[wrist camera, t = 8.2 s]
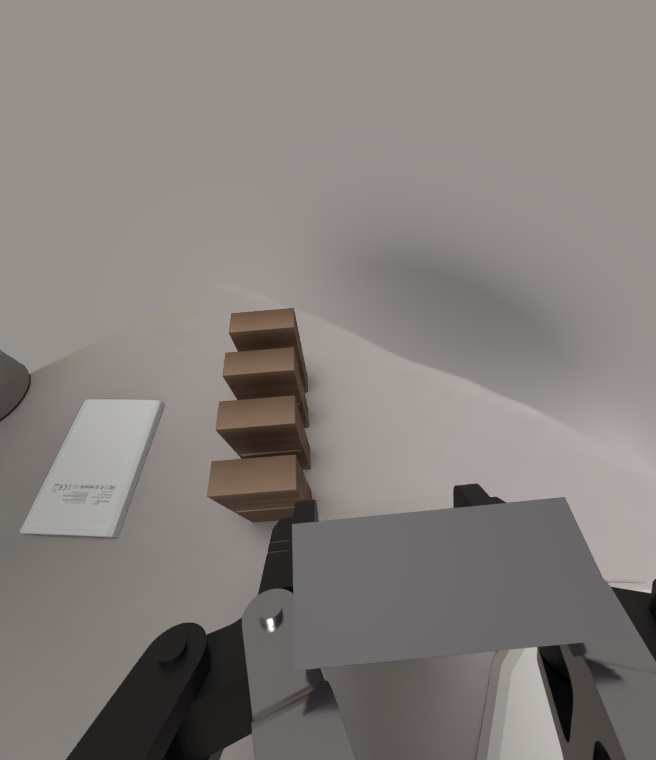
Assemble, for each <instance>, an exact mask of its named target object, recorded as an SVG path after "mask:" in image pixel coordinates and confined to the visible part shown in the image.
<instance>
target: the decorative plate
mask: <svg viewBox="0 0 656 760" xmlns="http://www.w3.org/2000/svg"><path fill="white" fill-rule="evenodd" d="M608 584H609V585H610V586H611V587H616V588H622V589H628V590H634V591H640V592H647V593H651V590H652V584H642V583H608ZM476 760H563V755H562V751H561V747H560V743H559V739H558V736H557V732H556V729H555V725H554V721H553V718H552V714H551V710H550V707H549V703H548V699H547V696H546V692H545V688H544V685H543V681H542V677H541V674H540V670H539V667H538V663H537V647H532V648H521V649H511V650H501V651H498V652H497V654H496V655H495V657H494V659H493V662H492V668H491V674H490V680H489V686H488V692H487V698H486V704H485V710H484V716H483V722H482V728H481V734H480V740H479V746H478V752H477V758H476Z"/></svg>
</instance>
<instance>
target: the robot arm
mask: <svg viewBox="0 0 656 760" xmlns="http://www.w3.org/2000/svg"><path fill="white" fill-rule="evenodd" d="M28 384H29V373H28V370H27V369H26V367H25V366H24V365H22V364H21V363H19V362H17V361H16V360H14V359H13V358H11V357H10V356H8V355H7V354H5V353H4V352H2V351H1V350H0V419H1V418H3V417H4V416H5V415H6V414H8V413H9V412H10V411H11V410H12V409H13V408H14V407H15V406H16V405H17V404H18V402H19V401H20V400H21V399H22V397H23V395H24V394H25V392H26V390H27V387H28ZM453 497H454V508H460V507H470V506H480V505H490V504H500V503H506V502H504V501H503V500H501V499H499V498H498V497H489V495H488V494H487V493H486V492H485V491H484V490H483V489H482V488H481V487H480V486H479V485H478V484H467V485H457V486H455V487H454V491H453ZM309 522H319V519H318V511H317V504H316V500H306V501H296V502H295V506H294V513H293V517H288V518H281V519H280V520H279V522H278V523H277V524H276V526H275V527H274V528H273V530H272V535H271V539H270V544H269V548H268V554H267V557H266V562H265V566H264V571H263V575H262V579H261V584H260V588H259V593H258V596H256V597H255V598H254V599H253V600H252V601H251V602H250V603H249V605H248V606H247V607H246V609H245V611H244V614H243V617H242V618H241V619H239V620H238V621H236V622H235V623H233V624H231V625H229V626H227V627H224V628H222V629H219V630H217V631H215V632H212V633H210V634H207V635H206V633H205V631H204V629H203V628H202V627H201V626H200V625H198V624H196V623H182V624H179V625H176V626H174V627H172V628H170V629H168V630H166V631H165V632H164V633H162V634H161V635H160V636H158V637H157V638H156V639H155V640H154V641H153V642H152V643H151V644H150V646H149V647H148V648H147V650H146V651H145V652H144V654H143V655H142V656H141V658H140V659H139V660H138V662H137V663H136V665H135V666H134V667H133V669H132V670H131V671H130V673H129V674H128V675H127V677H126V678H125V680H124V681H123V682H122V684H121V685H120V686H119V688H118V689H117V691H116V692H115V693H114V695H113V696H112V697H111V699H110V700H109V701H108V703H107V704H106V706H105V707H104V708H103V710H102V711H101V712H100V714H99V715H98V716H97V718H96V719H95V721H94V722H93V723H92V725H91V726H90V727H89V729H88V730H87V732H86V733H85V734H84V736H83V737H82V738H81V740H80V741H79V742H78V744H77V745H76V747H75V748H74V749H73V751H72V752H71V753H70V755H69V756H68V757H67V759H66V760H219V759H220V757H221V754H222V752H223V749H224V748H225V747H227V746H229V745H231V744H233V743H235V742H237V741H238V740H240V739H242V738H244V737H246V736H248V735H249V734H251V733H252V737H253V746H254V755H255V760H356V758H355V755H354V753H353V750H352V747H351V744H350V741H349V738H348V735H347V732H346V729H345V726H344V723H343V720H342V717H341V714H340V712H339V709H338V706H337V703H336V700H335V697H334V694H333V691H332V689H331V686H330V684H329V682H328V681H325V680H324V678H323V675H322V672H321V669H320V668H316V669H305V670H295V654H294V601H293V549H292V524H299V523H309ZM603 580H604V579H603ZM604 582H605V584H606V586H607V588H608V590H609V592H610V594H611V597H612V599H613V601H614V603H615V605H616V607H617V609H618V611H619V614H620V616H621V618H622V620H623V622H624V624H625V626H626V628H627V631H628V633H629V635H630V637H631V638H624V639H614V640H604V641H593V642H583V643H573V644H562V645H552V646H542V647H537V663H538V667H539V670H540V674H541V677H542V681H543V685H544V688H545V692H546V696H547V699H548V703H549V707H550V710H551V714H552V718H553V721H554V725H555V729H556V732H557V736H558V739H559V743H560V747H561V751H562V755H563V760H656V579H655V580H654V581H653V584H652V590H651V593H647V592H640V591H634V590H628V589H622V588H616V587H611V586H610V585H609V584H608V583H607V582H606V581H605V580H604Z"/></svg>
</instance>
